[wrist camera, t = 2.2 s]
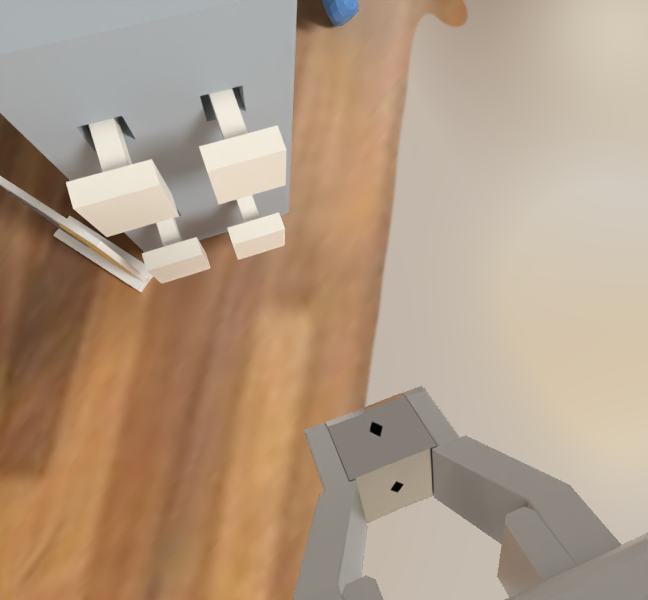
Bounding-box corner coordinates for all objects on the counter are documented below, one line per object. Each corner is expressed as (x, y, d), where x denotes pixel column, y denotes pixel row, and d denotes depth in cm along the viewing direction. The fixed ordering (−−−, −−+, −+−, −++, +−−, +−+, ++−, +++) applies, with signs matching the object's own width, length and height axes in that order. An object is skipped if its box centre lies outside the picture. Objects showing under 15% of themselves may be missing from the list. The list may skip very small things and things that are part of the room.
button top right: (218, 204, 22) (207, 171, 19) (186, 108, 23) (169, 59, 20) (285, 185, 23) (286, 149, 19) (252, 91, 23) (246, 41, 20)
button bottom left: (161, 283, 31) (146, 271, 28) (140, 212, 32) (122, 191, 28) (210, 268, 32) (202, 254, 28) (188, 198, 32) (177, 176, 29)
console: (148, 255, 36) (-49, 65, 15) (121, 168, 37) (-98, -128, 16) (288, 213, 38) (297, -12, 16) (259, 131, 39) (231, -181, 18)
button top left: (106, 237, 21) (73, 208, 18) (77, 136, 22) (40, 90, 19) (178, 216, 22) (159, 184, 18) (147, 118, 23) (123, 70, 19)
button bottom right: (238, 259, 32) (232, 244, 28) (215, 191, 33) (207, 168, 29) (284, 245, 32) (284, 229, 29) (260, 178, 33) (258, 154, 30)
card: (58, 238, 36) (-27, 183, 26) (74, 219, 36) (-3, 157, 26) (141, 292, 36) (87, 257, 26) (156, 272, 36) (109, 230, 26)
